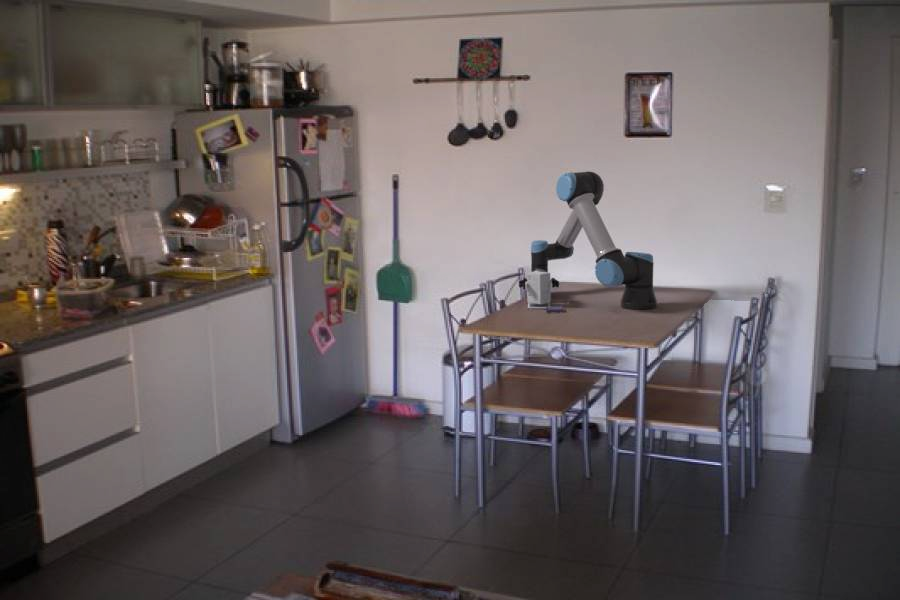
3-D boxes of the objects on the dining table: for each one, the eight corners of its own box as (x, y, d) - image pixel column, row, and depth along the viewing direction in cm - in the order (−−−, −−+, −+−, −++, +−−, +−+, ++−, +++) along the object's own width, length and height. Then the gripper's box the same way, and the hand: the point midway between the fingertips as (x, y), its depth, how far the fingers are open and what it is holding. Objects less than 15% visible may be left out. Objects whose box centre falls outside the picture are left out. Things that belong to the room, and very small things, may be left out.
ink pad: (563, 309, 412) (563, 306, 412) (563, 312, 405) (563, 309, 405) (546, 309, 413) (546, 306, 413) (546, 312, 406) (546, 309, 406)
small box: (550, 302, 418) (550, 272, 415) (540, 304, 414) (540, 274, 411) (537, 300, 424) (537, 270, 422) (526, 302, 420) (526, 272, 418)
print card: (550, 304, 424) (550, 302, 424) (550, 309, 413) (550, 307, 413) (528, 304, 425) (528, 302, 425) (527, 309, 414) (527, 307, 414)
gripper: (564, 286, 435) (565, 295, 413) (514, 287, 437) (512, 296, 415) (564, 270, 433) (565, 278, 411) (514, 270, 435) (512, 278, 414)
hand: (538, 287), depth 413 cm, fingers closed on small box, 10 cm apart
